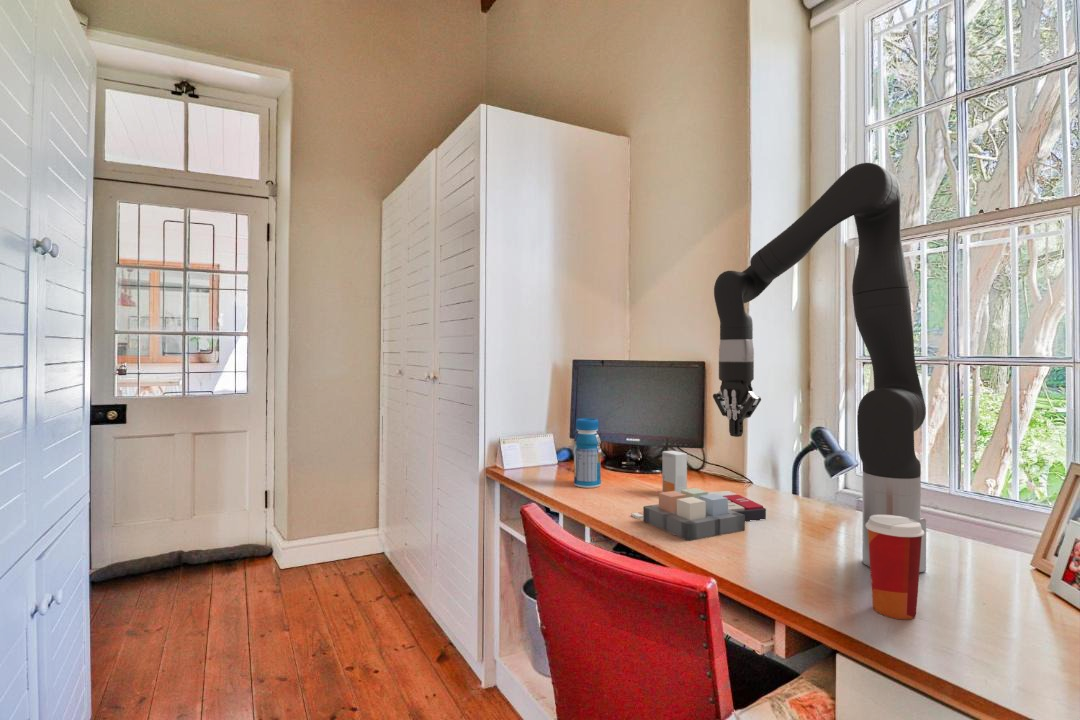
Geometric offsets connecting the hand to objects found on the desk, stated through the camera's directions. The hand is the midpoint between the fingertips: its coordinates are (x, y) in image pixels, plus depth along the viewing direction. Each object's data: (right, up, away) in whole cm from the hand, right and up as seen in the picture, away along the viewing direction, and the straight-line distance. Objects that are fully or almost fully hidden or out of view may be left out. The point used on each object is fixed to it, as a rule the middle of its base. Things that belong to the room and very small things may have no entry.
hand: (735, 436), depth 130 cm
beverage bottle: (-30, -21, +43) cm, 57 cm away
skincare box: (-7, -21, +31) cm, 38 cm away
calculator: (+2, -21, +12) cm, 25 cm away
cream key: (-11, -18, -2) cm, 21 cm away
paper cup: (+10, -22, -42) cm, 48 cm away
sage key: (-8, -18, +6) cm, 20 cm away
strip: (-14, -21, +12) cm, 28 cm away
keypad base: (-9, -21, +2) cm, 23 cm away
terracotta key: (-14, -18, +3) cm, 23 cm away
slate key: (-5, -18, 0) cm, 19 cm away
